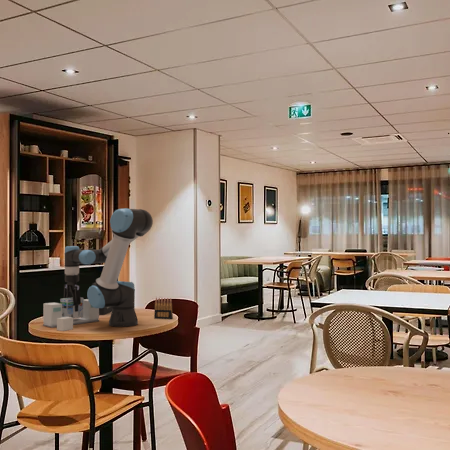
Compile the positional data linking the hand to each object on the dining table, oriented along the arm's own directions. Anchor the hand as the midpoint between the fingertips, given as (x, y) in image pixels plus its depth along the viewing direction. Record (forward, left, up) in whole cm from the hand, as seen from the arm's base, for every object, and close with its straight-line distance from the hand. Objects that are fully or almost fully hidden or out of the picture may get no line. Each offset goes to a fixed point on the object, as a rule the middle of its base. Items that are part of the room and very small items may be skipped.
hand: (71, 316), depth 278 cm
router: (+21, -32, -4) cm, 39 cm away
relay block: (-15, +12, -4) cm, 19 cm away
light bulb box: (0, 0, -1) cm, 1 cm away
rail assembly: (0, 0, -3) cm, 3 cm away
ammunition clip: (-24, -44, -4) cm, 50 cm away
